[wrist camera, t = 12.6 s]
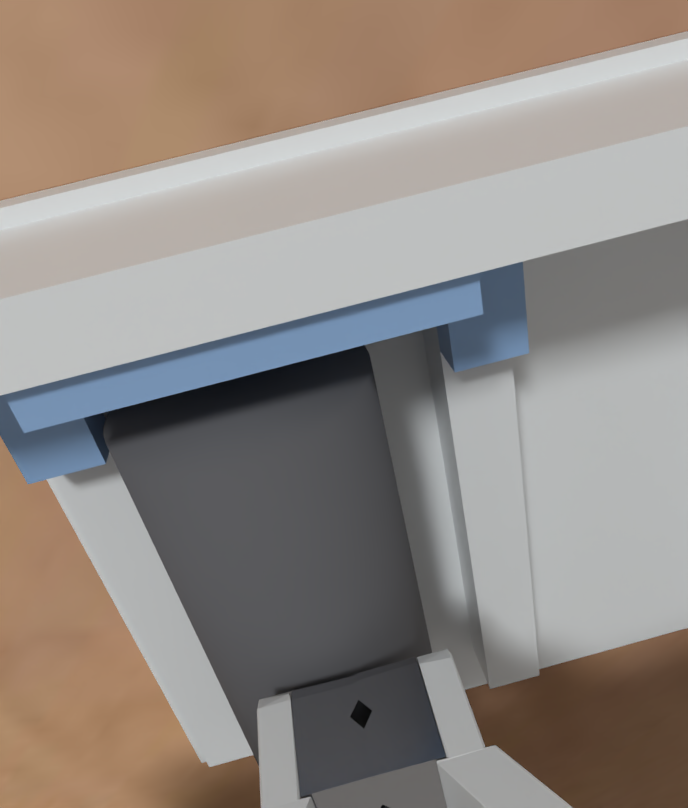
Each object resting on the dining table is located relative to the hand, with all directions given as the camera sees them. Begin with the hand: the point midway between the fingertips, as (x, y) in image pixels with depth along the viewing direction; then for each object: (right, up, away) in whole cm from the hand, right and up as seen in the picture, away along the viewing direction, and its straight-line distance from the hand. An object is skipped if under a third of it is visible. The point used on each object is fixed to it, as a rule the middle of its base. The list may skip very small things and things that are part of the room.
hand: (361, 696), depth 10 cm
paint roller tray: (+2, +4, +4) cm, 6 cm away
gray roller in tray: (-1, +2, +4) cm, 4 cm away
